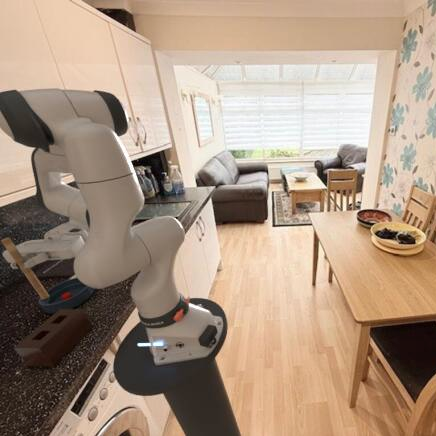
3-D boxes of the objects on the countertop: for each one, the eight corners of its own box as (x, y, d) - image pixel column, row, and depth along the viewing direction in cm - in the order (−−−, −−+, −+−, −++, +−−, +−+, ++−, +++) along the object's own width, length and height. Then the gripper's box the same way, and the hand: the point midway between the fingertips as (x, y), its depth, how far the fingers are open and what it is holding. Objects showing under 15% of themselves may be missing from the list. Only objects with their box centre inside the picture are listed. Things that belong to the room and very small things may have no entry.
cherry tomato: (71, 290, 91) (74, 297, 91) (69, 292, 93) (72, 299, 93) (61, 294, 88) (64, 301, 88) (59, 295, 90) (62, 303, 90)
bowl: (104, 286, 99) (99, 276, 96) (72, 315, 85) (65, 305, 83) (71, 286, 100) (65, 277, 98) (34, 315, 86) (26, 305, 84)
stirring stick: (50, 295, 71) (11, 237, 62) (45, 299, 69) (4, 240, 61) (46, 295, 71) (5, 237, 62) (40, 299, 69) (-2, 240, 61)
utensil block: (93, 326, 80) (82, 309, 76) (54, 366, 68) (39, 348, 64) (71, 326, 80) (59, 309, 77) (29, 366, 68) (13, 347, 65)
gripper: (27, 233, 75) (-26, 259, 63) (89, 229, 75) (49, 254, 62) (37, 250, 78) (-11, 278, 66) (98, 246, 77) (61, 273, 65)
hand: (19, 266), depth 64 cm, fingers closed on stirring stick, 1 cm apart
